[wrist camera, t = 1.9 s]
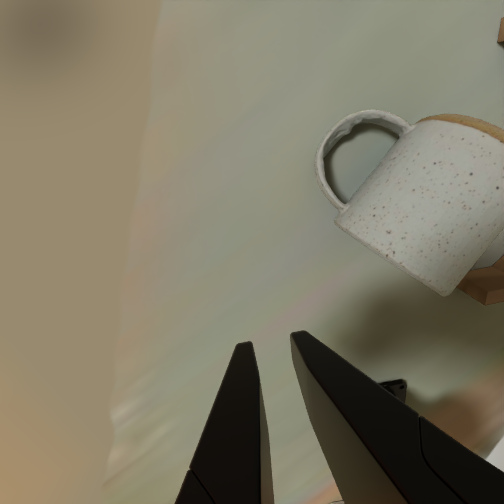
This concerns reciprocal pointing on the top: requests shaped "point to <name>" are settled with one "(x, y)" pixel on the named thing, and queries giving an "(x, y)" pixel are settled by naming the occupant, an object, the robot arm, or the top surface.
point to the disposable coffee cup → (339, 503)
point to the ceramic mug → (426, 194)
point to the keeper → (490, 278)
